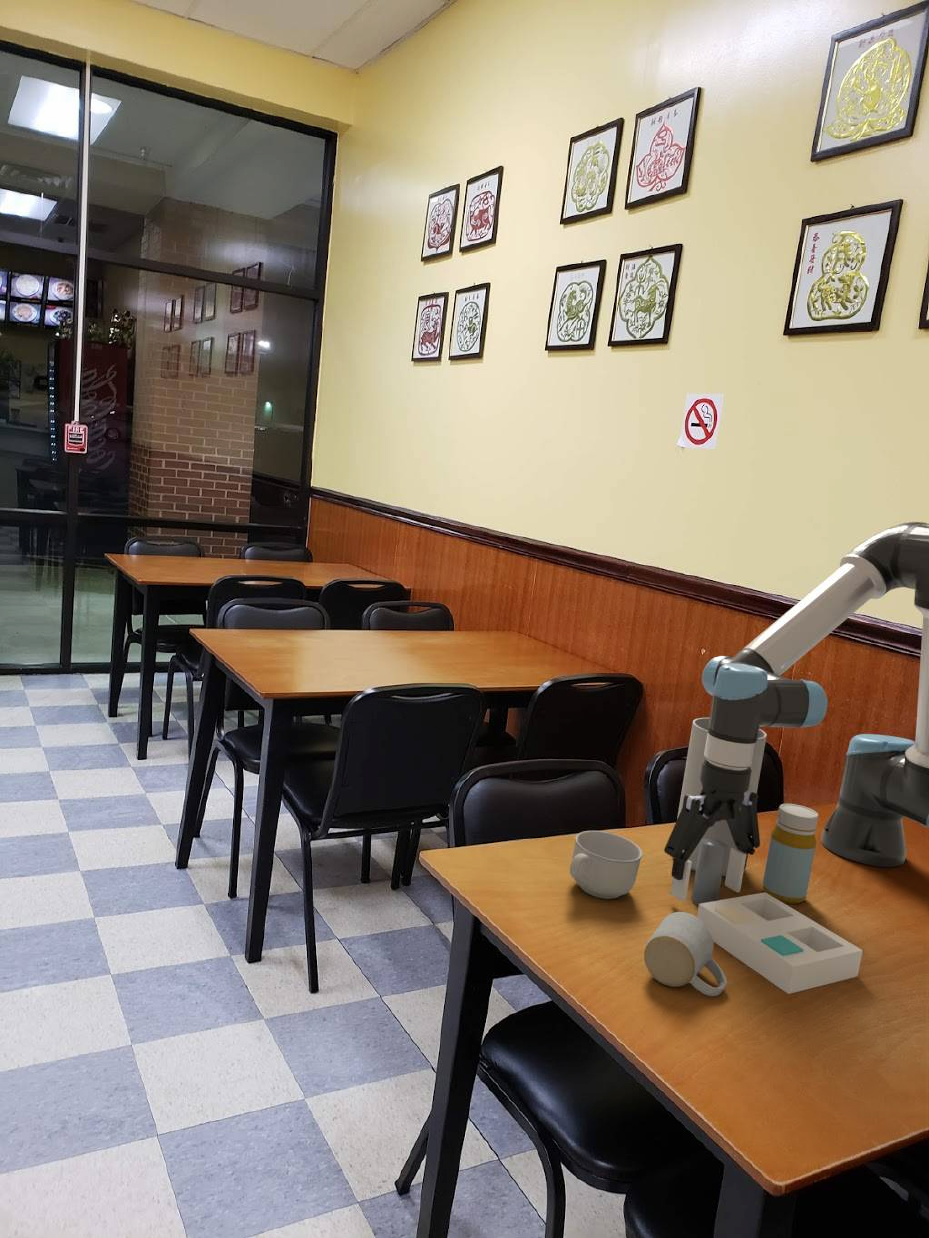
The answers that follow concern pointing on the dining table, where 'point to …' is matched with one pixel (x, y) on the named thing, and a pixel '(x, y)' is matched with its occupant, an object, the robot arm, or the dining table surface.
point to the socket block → (780, 942)
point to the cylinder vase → (694, 784)
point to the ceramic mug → (683, 953)
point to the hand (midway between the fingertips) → (705, 892)
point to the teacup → (605, 863)
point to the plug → (708, 871)
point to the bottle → (791, 854)
